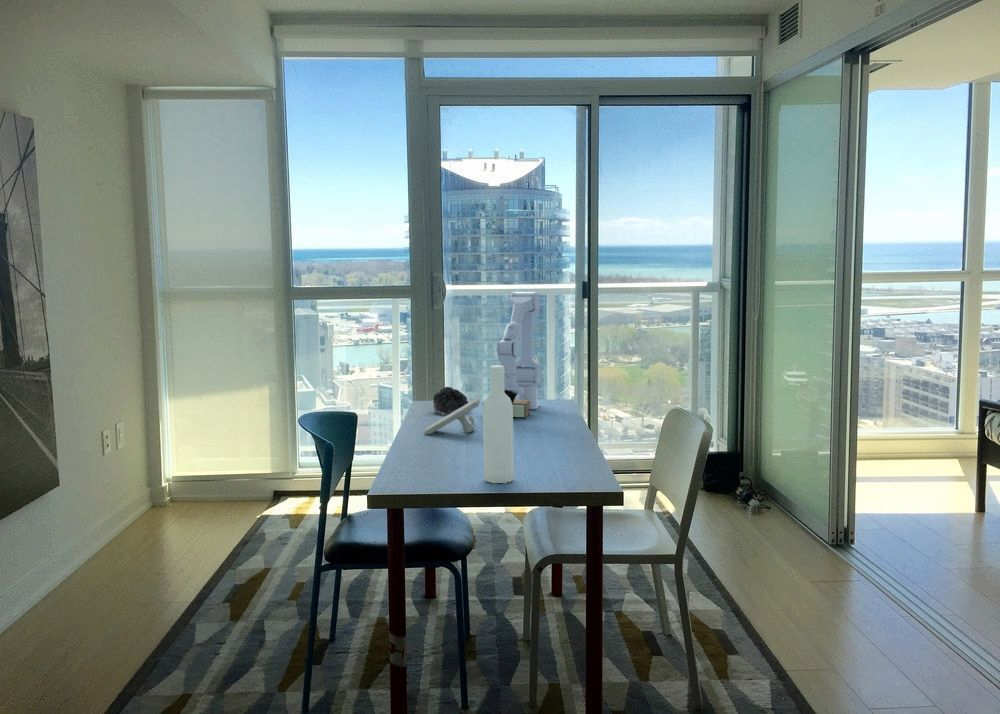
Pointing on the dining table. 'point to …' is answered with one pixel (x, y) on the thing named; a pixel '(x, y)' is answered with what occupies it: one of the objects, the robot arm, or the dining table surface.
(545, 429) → the dining table surface
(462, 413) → the door handle
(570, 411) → the dining table surface
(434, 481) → the dining table surface
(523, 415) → the door
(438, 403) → the crystal cluster
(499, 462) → the bottle
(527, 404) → the cabinet
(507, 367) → the robot arm
